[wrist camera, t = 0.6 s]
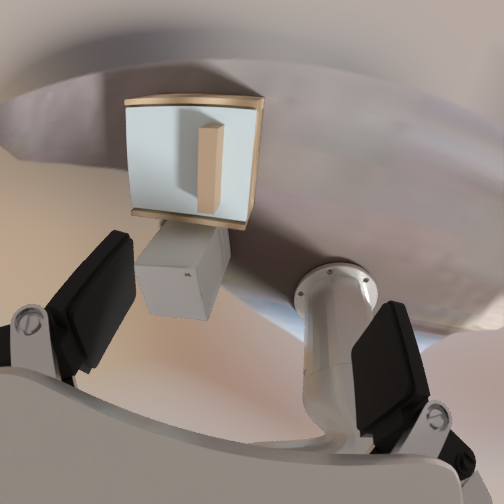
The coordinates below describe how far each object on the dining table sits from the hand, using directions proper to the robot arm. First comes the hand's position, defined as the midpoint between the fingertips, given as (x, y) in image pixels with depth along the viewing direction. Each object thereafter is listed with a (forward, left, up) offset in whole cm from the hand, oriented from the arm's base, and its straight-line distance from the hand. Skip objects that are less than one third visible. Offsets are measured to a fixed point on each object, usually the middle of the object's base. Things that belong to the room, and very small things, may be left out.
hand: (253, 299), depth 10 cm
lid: (+3, +9, -19) cm, 21 cm away
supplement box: (-8, +14, -26) cm, 30 cm away
